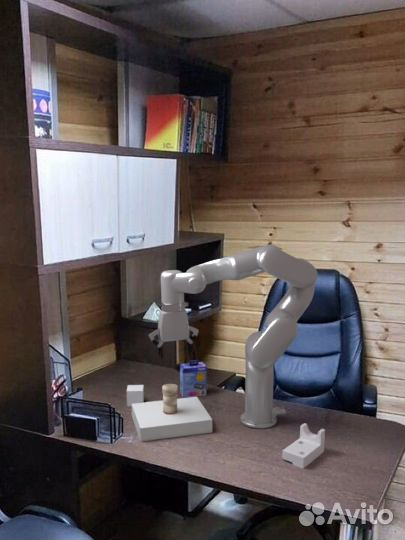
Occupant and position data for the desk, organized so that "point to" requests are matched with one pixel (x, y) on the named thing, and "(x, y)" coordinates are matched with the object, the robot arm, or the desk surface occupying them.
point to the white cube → (135, 394)
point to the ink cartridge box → (193, 379)
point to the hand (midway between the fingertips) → (174, 355)
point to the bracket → (305, 447)
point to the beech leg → (170, 398)
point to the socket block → (170, 419)
